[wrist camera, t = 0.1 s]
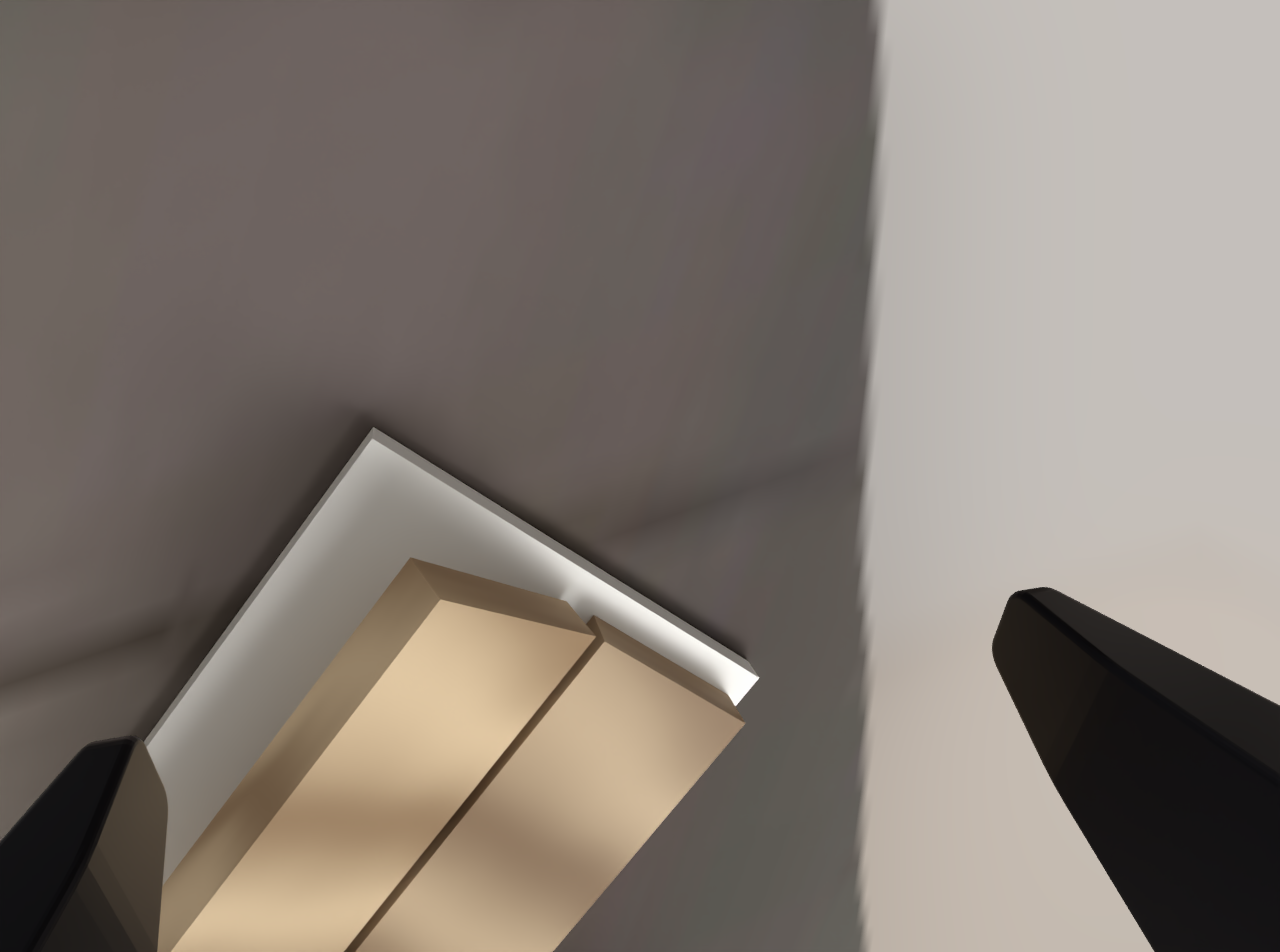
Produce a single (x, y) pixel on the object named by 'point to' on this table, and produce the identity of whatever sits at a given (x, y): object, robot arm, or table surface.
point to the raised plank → (371, 764)
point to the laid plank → (560, 806)
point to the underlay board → (345, 593)
